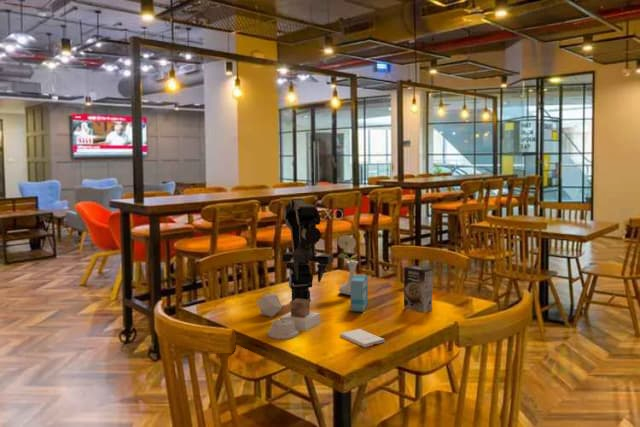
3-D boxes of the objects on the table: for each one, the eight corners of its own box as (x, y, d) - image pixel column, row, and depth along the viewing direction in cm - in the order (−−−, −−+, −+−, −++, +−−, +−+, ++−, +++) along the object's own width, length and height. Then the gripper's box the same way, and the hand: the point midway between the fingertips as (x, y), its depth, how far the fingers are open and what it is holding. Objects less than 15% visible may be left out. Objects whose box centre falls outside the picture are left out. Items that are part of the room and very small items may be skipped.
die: (286, 316, 203) (280, 292, 208) (278, 310, 196) (272, 285, 200) (266, 323, 205) (261, 299, 209) (257, 317, 197) (252, 293, 202)
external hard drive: (360, 333, 182) (385, 343, 172) (340, 338, 178) (364, 348, 167) (359, 328, 182) (385, 338, 172) (340, 333, 177) (364, 343, 167)
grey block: (280, 328, 188) (279, 317, 188) (295, 320, 197) (295, 309, 196) (305, 332, 183) (305, 321, 183) (319, 324, 192) (319, 313, 192)
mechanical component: (262, 336, 179) (287, 341, 174) (261, 323, 178) (286, 328, 173) (279, 328, 187) (304, 333, 182) (279, 315, 187) (304, 320, 182)
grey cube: (291, 316, 188) (290, 302, 188) (296, 312, 193) (296, 298, 193) (304, 317, 187) (304, 303, 186) (309, 313, 191) (309, 299, 191)
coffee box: (403, 308, 209) (403, 267, 207) (412, 305, 213) (412, 264, 212) (423, 313, 202) (424, 270, 201) (433, 309, 207) (433, 267, 205)
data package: (362, 313, 204) (362, 281, 202) (350, 312, 205) (350, 280, 203) (367, 304, 215) (367, 274, 214) (356, 304, 216) (356, 274, 215)
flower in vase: (370, 292, 234) (370, 234, 231) (357, 298, 224) (357, 238, 222) (344, 289, 241) (343, 232, 238) (330, 294, 231) (329, 235, 229)
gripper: (274, 241, 199) (275, 283, 200) (321, 243, 191) (322, 287, 193) (288, 237, 209) (289, 277, 211) (333, 239, 202) (334, 281, 203)
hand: (307, 280), depth 204 cm, fingers open, 9 cm apart
